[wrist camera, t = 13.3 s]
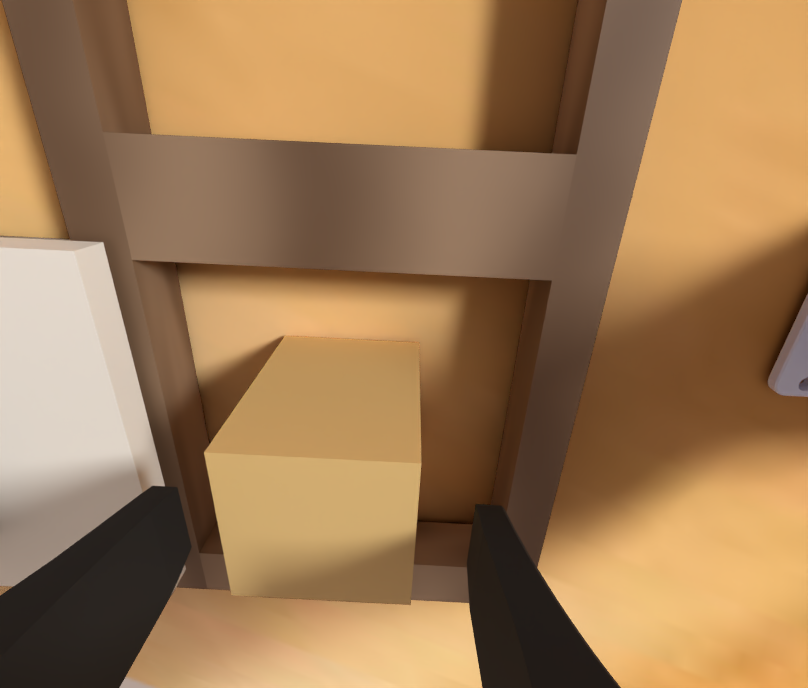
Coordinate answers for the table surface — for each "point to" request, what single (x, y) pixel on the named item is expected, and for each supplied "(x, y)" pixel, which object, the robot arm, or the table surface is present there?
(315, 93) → the table surface
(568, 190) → the brown flat frame
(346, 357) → the ochre block
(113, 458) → the slide cover
